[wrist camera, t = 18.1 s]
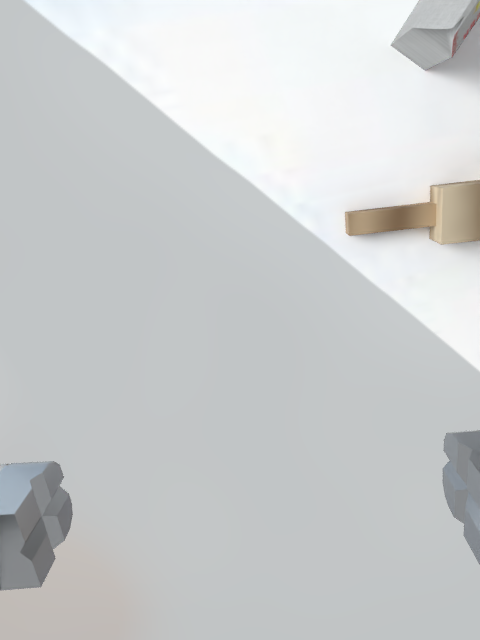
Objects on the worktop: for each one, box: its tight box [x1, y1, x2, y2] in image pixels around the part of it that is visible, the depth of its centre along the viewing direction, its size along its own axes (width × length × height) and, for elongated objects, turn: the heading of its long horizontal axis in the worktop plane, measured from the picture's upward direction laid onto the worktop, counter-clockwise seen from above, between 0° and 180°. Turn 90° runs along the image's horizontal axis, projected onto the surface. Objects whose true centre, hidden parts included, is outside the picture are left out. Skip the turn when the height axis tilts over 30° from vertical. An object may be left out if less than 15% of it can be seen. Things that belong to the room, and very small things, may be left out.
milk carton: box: [391, 0, 480, 70], centre depth 33 cm, size 4×7×10 cm, turn 149°
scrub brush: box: [345, 180, 480, 245], centre depth 42 cm, size 15×5×3 cm, turn 97°
